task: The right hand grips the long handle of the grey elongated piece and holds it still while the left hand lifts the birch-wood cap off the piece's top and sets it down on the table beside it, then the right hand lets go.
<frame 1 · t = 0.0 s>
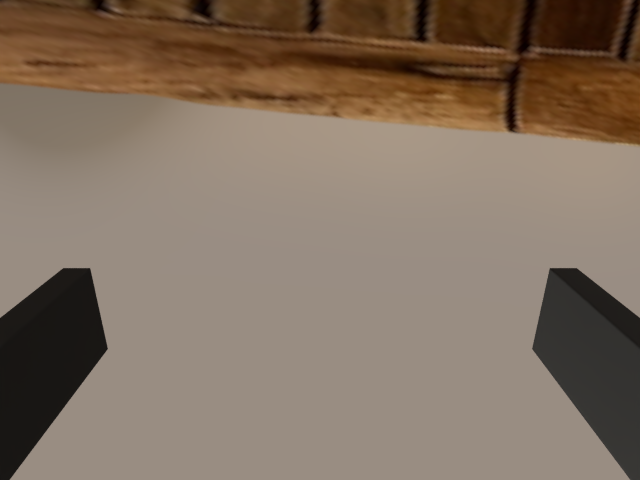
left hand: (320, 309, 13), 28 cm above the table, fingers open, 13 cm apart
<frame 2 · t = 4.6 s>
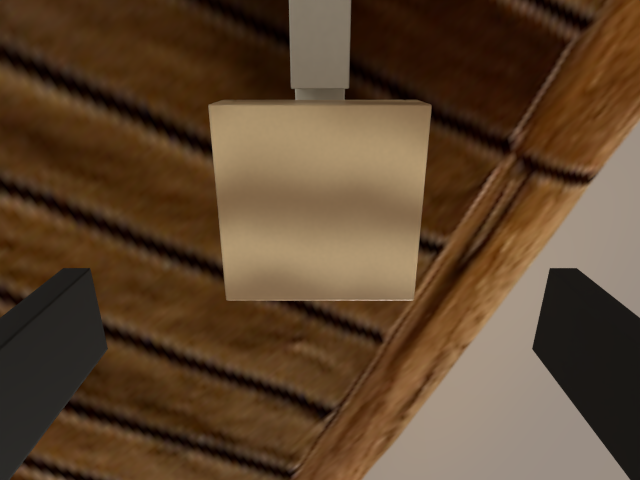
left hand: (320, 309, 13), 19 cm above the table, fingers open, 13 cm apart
grey elongated piece: (319, 168, 30), on the table, touching cap
cap: (319, 194, 24), point 6 cm above the table, touching grey elongated piece
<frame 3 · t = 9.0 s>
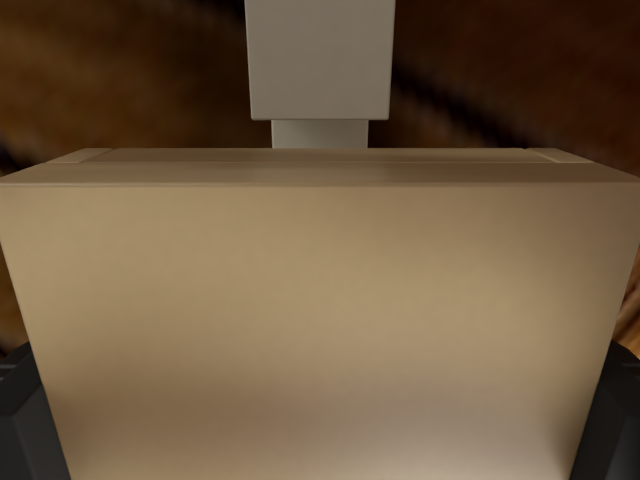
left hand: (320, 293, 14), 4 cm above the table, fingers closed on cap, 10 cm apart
grey elongated piece: (319, 246, 17), on the table, touching cap
cap: (320, 345, 11), point 7 cm above the table, touching grey elongated piece, left hand
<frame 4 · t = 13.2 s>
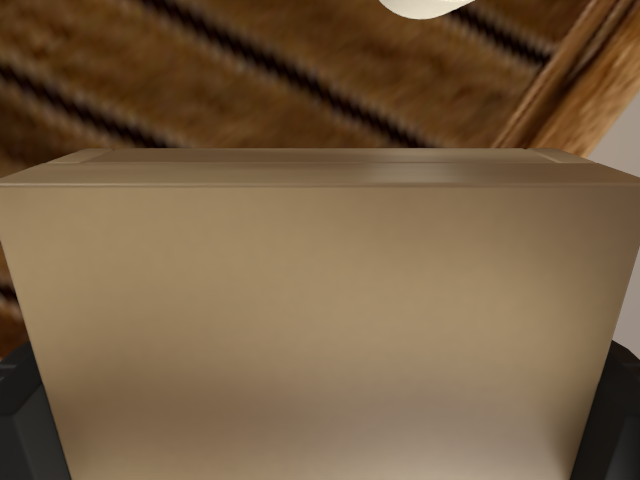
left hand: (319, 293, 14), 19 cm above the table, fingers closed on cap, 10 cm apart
cap: (320, 345, 11), point 22 cm above the table, touching left hand
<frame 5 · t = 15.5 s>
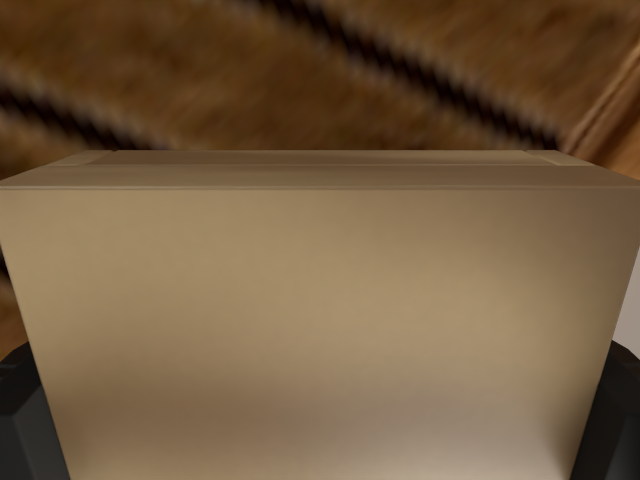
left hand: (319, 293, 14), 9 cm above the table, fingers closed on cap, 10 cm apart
cap: (320, 347, 11), point 12 cm above the table, touching left hand
when the left hand's fingers open (2 cm above the table, at t = 17.4 s): cap drops 5 cm, on the table.
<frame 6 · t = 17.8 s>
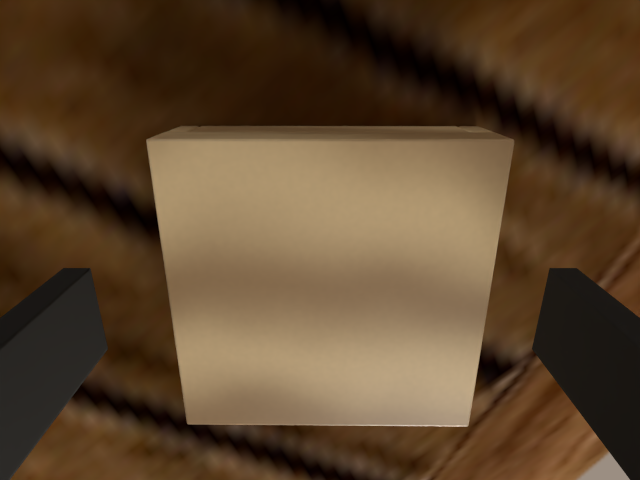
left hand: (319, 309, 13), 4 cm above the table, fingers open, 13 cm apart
cap: (327, 262, 16), on the table
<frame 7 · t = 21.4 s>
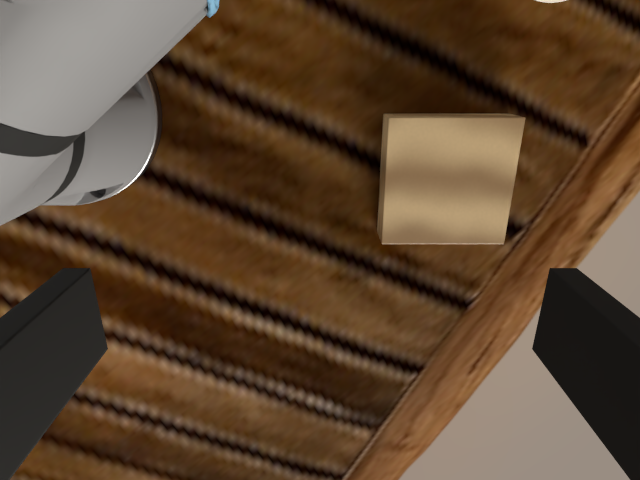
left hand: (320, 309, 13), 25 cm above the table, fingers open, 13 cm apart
cap: (439, 175, 36), on the table
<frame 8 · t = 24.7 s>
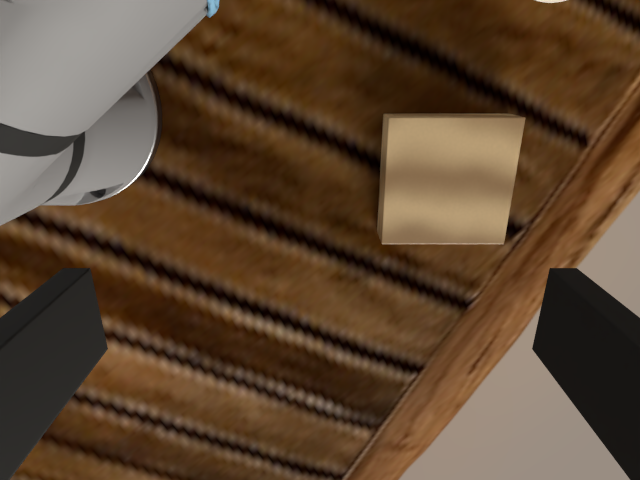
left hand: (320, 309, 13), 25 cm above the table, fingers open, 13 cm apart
cap: (439, 175, 36), on the table
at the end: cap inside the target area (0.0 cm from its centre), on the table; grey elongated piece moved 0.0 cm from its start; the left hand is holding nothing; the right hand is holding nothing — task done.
